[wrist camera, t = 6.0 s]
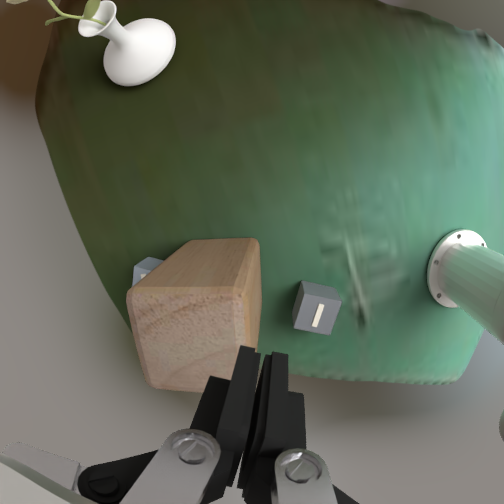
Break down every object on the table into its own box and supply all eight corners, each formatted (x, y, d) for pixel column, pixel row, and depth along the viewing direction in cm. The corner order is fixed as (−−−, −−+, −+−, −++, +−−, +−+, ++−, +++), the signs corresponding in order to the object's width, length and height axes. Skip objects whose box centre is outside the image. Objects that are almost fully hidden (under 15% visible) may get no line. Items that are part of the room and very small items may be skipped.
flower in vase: (190, 26, 34) (118, -80, 10) (163, 94, 37) (49, 24, 12) (117, 22, 34) (23, -49, 9) (91, 84, 37) (-29, 42, 12)
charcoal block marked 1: (334, 287, 42) (342, 302, 37) (324, 318, 43) (330, 336, 38) (301, 279, 42) (304, 293, 37) (291, 311, 43) (293, 328, 38)
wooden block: (262, 305, 43) (253, 398, 24) (194, 305, 44) (144, 391, 24) (259, 235, 41) (245, 291, 21) (186, 238, 41) (119, 291, 22)
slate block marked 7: (180, 264, 43) (168, 276, 38) (175, 296, 44) (164, 310, 39) (148, 256, 43) (133, 266, 38) (145, 287, 44) (130, 300, 39)
